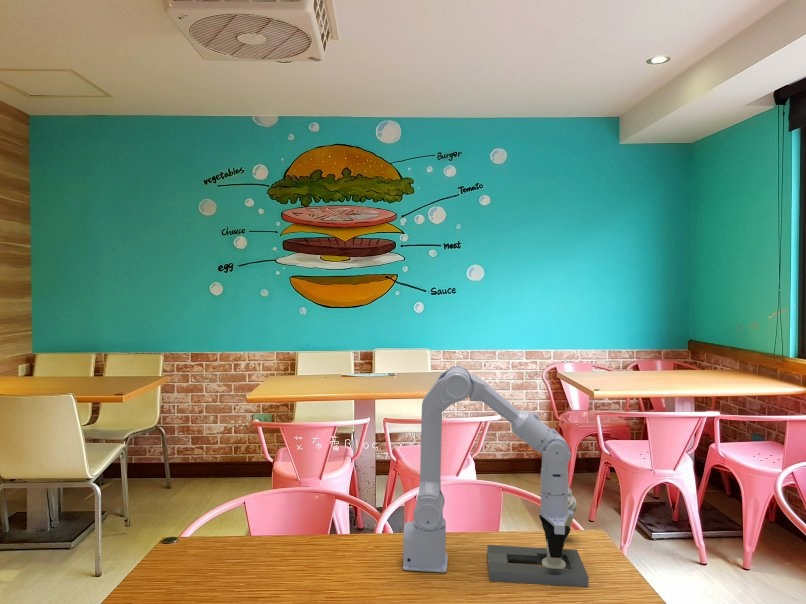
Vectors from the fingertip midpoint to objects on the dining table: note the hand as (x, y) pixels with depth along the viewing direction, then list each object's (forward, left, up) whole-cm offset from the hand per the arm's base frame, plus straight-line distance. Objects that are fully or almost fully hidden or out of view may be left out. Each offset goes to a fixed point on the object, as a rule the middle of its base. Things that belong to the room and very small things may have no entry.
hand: (554, 553), depth 120 cm
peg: (0, 0, -3) cm, 3 cm away
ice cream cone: (+5, +15, -4) cm, 16 cm away
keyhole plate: (-4, 0, -4) cm, 6 cm away
